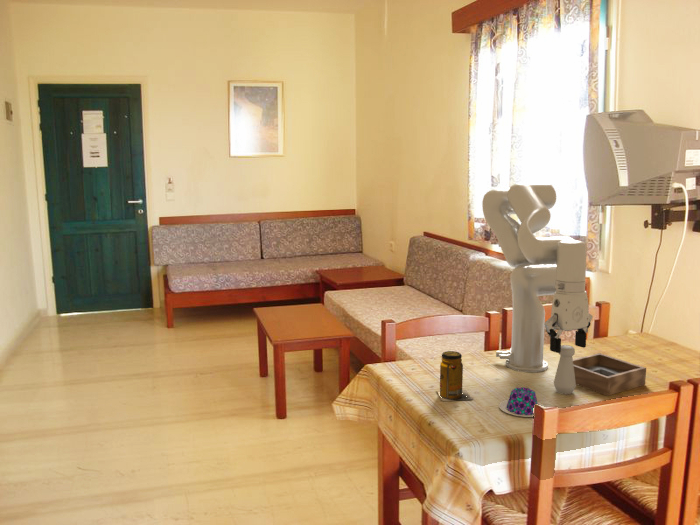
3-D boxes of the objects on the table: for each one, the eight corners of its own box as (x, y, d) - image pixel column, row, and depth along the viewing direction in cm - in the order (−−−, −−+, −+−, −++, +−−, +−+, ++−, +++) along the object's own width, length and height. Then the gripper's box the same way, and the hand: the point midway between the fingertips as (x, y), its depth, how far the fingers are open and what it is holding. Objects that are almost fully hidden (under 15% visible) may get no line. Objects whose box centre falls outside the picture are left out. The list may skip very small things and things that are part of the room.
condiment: (435, 391, 184) (436, 350, 182) (465, 390, 185) (466, 348, 183) (442, 401, 177) (442, 358, 175) (473, 400, 178) (474, 357, 176)
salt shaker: (576, 396, 180) (579, 350, 178) (554, 395, 181) (556, 348, 179) (573, 388, 186) (576, 343, 184) (552, 387, 187) (554, 342, 185)
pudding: (492, 413, 170) (493, 394, 169) (507, 398, 180) (507, 379, 179) (539, 423, 164) (540, 402, 163) (552, 406, 174) (553, 387, 173)
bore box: (607, 395, 181) (608, 378, 180) (561, 378, 194) (561, 361, 193) (645, 384, 189) (646, 367, 188) (598, 369, 202) (599, 353, 201)
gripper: (558, 292, 171) (556, 357, 173) (603, 285, 179) (601, 347, 182) (536, 288, 177) (534, 350, 180) (581, 281, 186) (578, 341, 188)
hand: (567, 349), depth 181 cm, fingers open, 9 cm apart
